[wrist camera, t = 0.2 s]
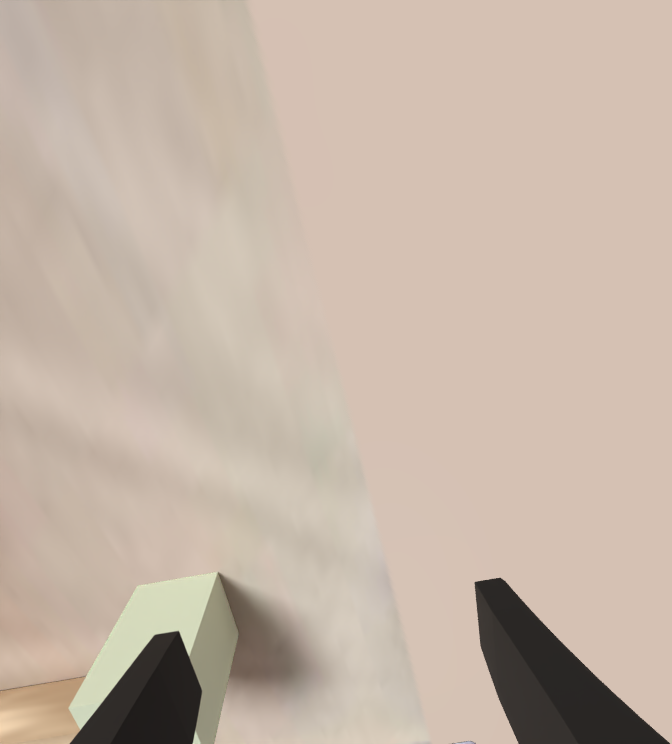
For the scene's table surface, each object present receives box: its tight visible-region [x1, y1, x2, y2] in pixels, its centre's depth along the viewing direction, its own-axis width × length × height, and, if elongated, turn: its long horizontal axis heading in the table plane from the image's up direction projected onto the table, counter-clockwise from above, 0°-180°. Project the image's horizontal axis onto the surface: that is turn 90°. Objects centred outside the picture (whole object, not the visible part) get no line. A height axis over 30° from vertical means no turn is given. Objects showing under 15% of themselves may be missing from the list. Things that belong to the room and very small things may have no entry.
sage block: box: [68, 572, 239, 744], centre depth 19 cm, size 4×4×6 cm
